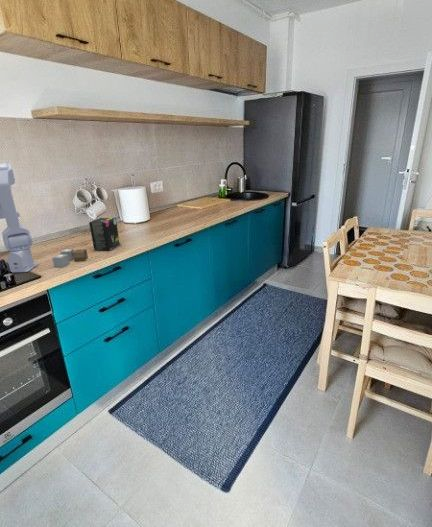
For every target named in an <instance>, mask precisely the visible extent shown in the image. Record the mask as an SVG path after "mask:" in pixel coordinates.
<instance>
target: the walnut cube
mask: <svg viewBox="0 0 432 527" xmlns="http://www.w3.org/2000/svg"><path fill="white" fill-rule="evenodd" d="M73 251H74V252H73V257H74V259H73V261H74V262H75V263H80V261H83V262H86V259H87V258H88V259H89V257H88V256H89V255H88V250H87V249H86V248H85V249H84V248H83V249H81V248H80V249H75V250H73ZM88 259H87V260H88Z"/></svg>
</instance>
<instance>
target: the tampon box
mask: <svg viewBox="0 0 432 527" xmlns="http://www.w3.org/2000/svg"><path fill="white" fill-rule="evenodd" d="M88 224H89V229H90V234H91V241H92V244H93V250H94V251H102V252H103V251H104V252H105V251H107V252H109V251H110V252H111V251H112V250H114V249H115V248H117V247H118V246H120V239H119V238H120V236H119V230H118V222H117V218H116V217H99V218H96V219H94V220H91V221H89V222H88Z"/></svg>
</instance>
